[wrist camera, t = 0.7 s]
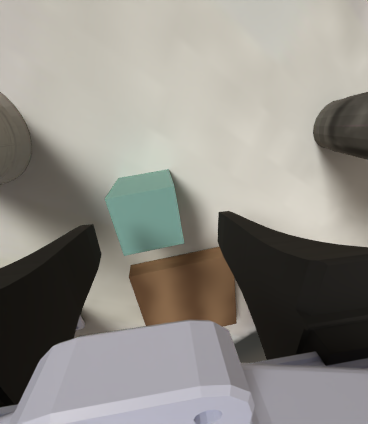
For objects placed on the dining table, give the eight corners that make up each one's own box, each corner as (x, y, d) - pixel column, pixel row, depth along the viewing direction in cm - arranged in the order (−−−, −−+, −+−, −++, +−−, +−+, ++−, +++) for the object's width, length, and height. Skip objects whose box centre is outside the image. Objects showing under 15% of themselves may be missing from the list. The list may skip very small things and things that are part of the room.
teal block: (131, 222, 21) (124, 255, 16) (118, 178, 19) (104, 199, 14) (176, 213, 22) (184, 243, 16) (168, 169, 20) (174, 186, 14)
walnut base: (152, 329, 28) (152, 343, 27) (130, 265, 23) (128, 277, 22) (231, 311, 29) (236, 323, 28) (227, 245, 24) (233, 254, 22)
